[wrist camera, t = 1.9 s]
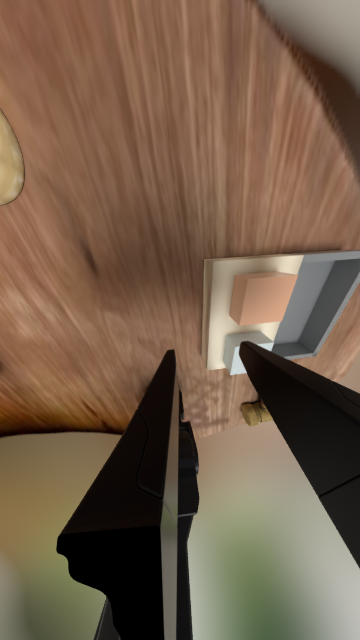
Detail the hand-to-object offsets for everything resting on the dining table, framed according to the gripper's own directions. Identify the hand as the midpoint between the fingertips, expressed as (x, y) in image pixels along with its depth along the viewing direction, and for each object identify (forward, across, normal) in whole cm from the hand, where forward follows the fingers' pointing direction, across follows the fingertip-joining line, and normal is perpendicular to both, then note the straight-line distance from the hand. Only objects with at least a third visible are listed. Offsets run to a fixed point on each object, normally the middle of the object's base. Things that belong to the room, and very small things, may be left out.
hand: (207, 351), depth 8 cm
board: (+12, -8, +4) cm, 15 cm away
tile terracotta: (+8, -8, 0) cm, 12 cm away
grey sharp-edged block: (+8, -8, +8) cm, 14 cm away
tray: (+12, -18, +4) cm, 22 cm away
